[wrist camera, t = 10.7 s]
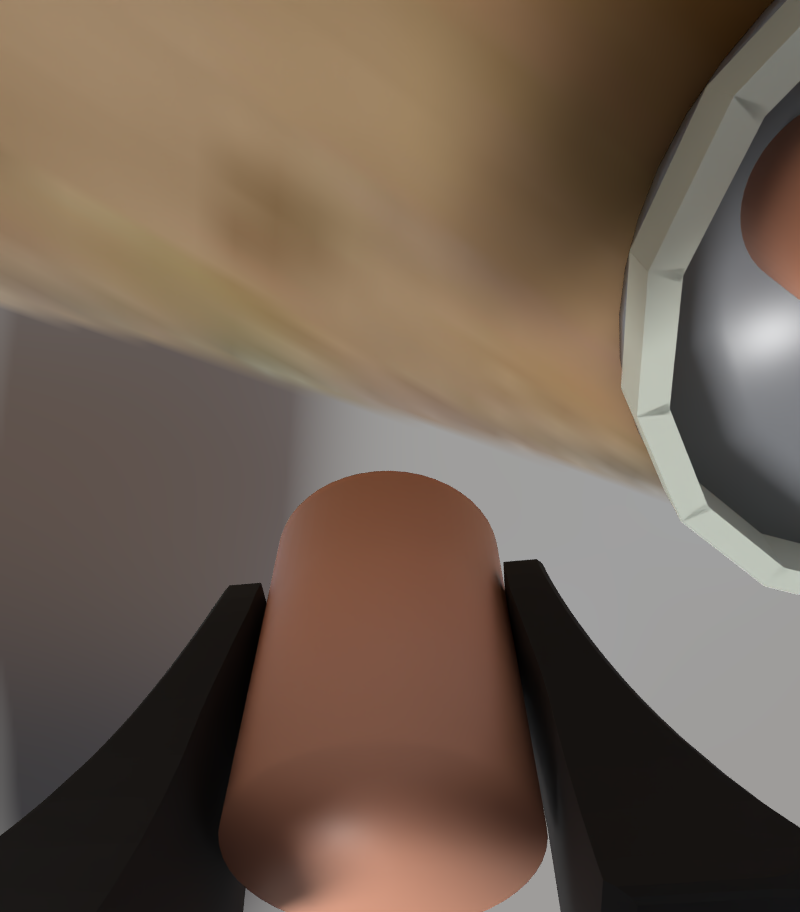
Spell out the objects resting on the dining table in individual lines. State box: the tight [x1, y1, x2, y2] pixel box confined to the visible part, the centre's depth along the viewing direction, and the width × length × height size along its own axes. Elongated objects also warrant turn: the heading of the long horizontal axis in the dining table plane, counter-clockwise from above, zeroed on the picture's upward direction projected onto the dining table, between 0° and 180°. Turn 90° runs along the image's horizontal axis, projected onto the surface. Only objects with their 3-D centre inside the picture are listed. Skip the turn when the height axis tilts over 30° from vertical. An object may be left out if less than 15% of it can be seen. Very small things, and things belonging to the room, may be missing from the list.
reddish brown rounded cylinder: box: [218, 471, 548, 912], centre depth 13 cm, size 4×4×6 cm
